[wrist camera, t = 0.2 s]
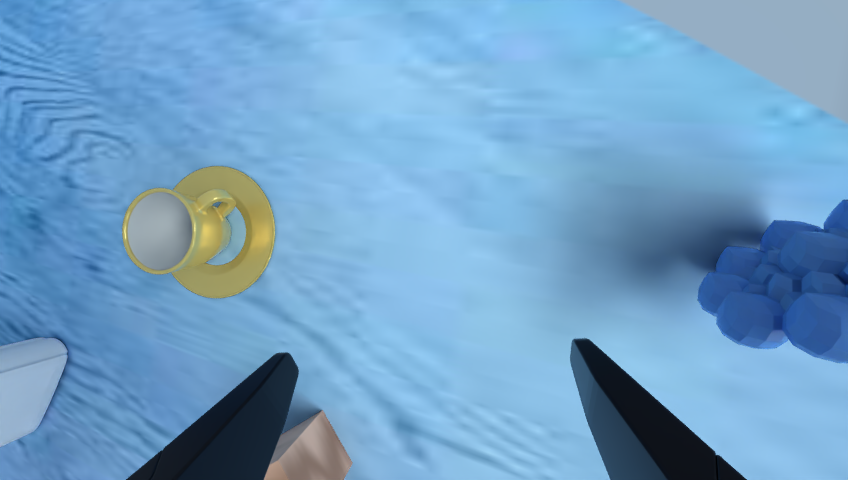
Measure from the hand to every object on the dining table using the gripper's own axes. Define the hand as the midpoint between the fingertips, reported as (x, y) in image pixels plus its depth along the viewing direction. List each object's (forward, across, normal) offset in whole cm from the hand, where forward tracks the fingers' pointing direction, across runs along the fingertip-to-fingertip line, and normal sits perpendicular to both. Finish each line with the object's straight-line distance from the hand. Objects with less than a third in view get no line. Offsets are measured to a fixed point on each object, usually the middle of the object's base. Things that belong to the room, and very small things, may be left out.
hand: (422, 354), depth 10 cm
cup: (+16, +21, +2) cm, 27 cm away
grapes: (+12, -20, +8) cm, 25 cm away
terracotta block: (+6, +13, +19) cm, 24 cm away
